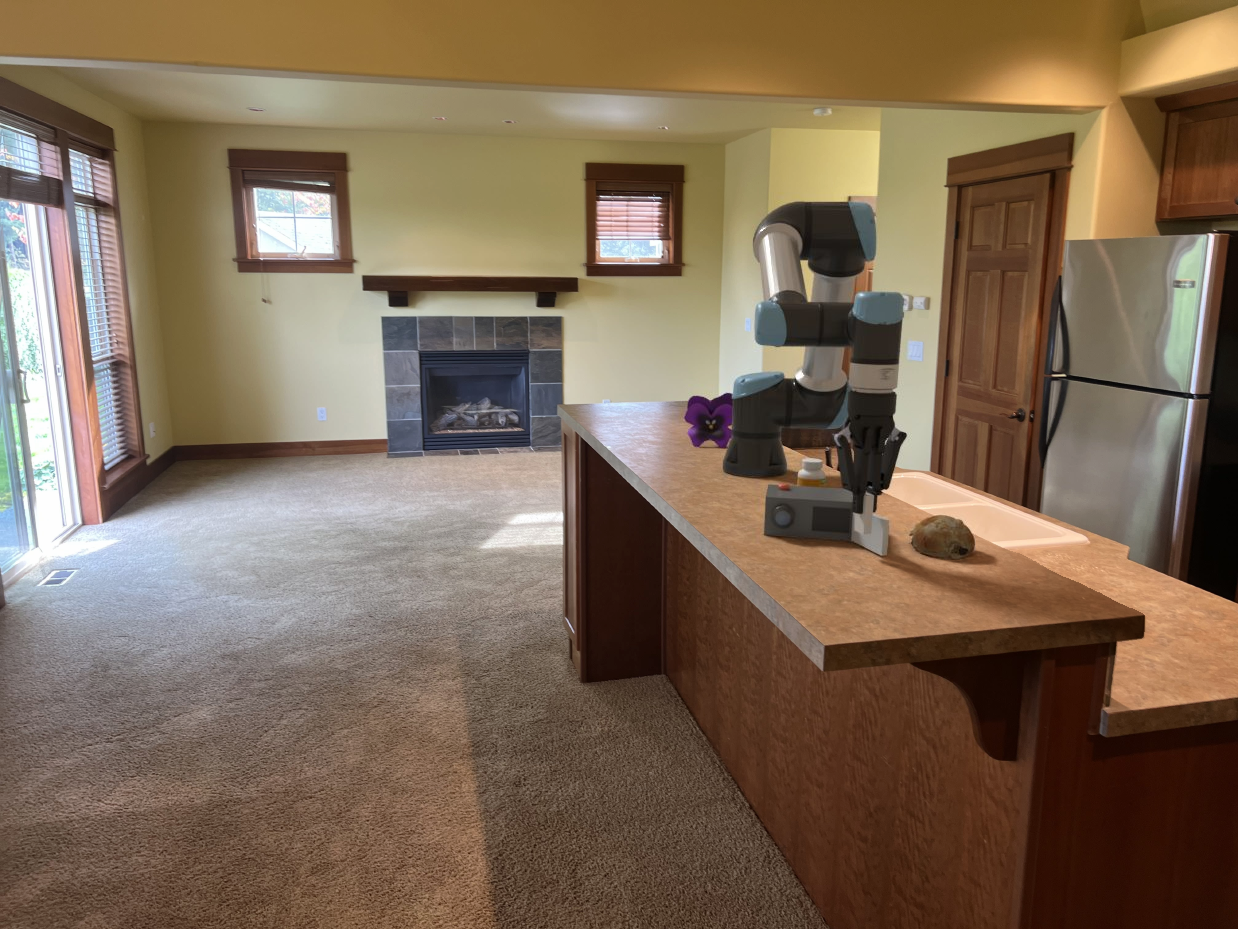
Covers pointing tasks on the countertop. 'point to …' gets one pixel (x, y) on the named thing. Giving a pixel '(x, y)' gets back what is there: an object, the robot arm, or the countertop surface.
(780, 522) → the box with round dial
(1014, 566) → the countertop surface
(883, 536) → the side door
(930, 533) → the bread roll
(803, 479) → the supplement bottle
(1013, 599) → the countertop surface
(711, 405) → the flower
